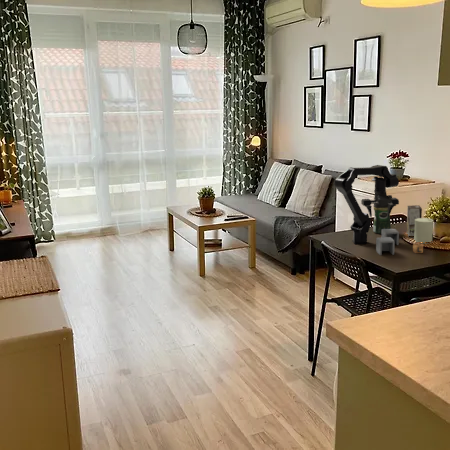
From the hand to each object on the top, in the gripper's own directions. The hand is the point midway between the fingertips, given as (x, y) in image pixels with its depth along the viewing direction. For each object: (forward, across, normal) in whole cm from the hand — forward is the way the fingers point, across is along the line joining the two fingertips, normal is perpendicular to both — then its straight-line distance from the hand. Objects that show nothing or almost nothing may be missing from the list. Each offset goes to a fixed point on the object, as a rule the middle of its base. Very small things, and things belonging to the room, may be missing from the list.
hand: (379, 217), depth 277 cm
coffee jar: (+12, +5, +13) cm, 19 cm away
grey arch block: (+12, +3, -10) cm, 16 cm away
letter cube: (+12, +12, -26) cm, 31 cm away
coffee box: (+12, +20, +4) cm, 24 cm away
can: (+12, +21, -8) cm, 26 cm away
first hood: (+12, -4, -26) cm, 29 cm away
